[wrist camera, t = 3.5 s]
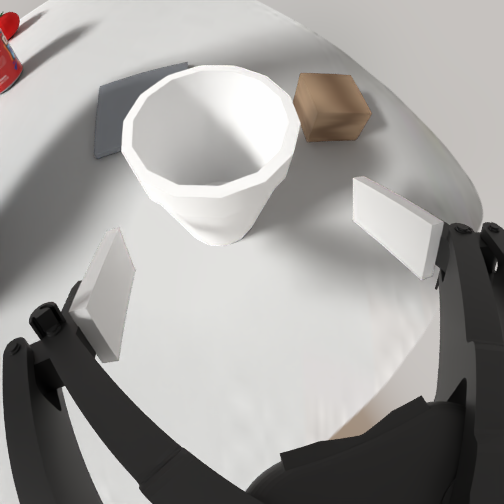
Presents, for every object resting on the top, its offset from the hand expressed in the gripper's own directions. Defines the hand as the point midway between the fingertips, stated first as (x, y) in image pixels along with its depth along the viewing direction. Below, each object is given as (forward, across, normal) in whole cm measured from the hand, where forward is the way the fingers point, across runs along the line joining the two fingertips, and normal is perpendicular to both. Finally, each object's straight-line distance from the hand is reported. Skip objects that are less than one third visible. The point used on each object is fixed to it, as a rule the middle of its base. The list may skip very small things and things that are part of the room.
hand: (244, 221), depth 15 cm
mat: (+22, -7, +8) cm, 24 cm away
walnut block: (+17, +13, +3) cm, 22 cm away
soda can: (+38, -36, +24) cm, 58 cm away
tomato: (+60, -49, +46) cm, 90 cm away
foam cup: (+11, -1, -4) cm, 12 cm away
